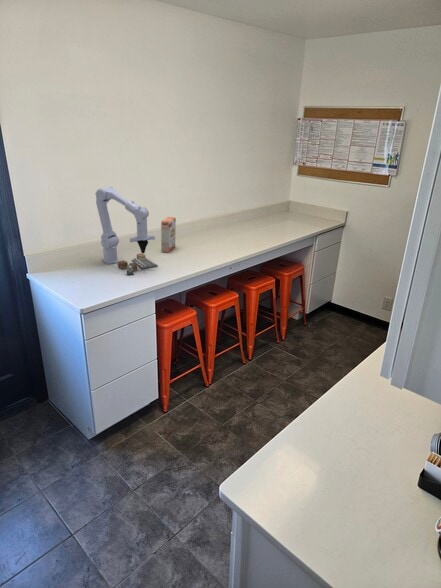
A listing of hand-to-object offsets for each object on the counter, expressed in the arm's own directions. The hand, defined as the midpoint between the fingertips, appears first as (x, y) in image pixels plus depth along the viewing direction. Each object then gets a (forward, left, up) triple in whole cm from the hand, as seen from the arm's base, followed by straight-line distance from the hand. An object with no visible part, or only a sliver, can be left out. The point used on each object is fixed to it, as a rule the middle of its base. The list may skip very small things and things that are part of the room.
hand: (142, 252), depth 231 cm
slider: (-12, +3, -9) cm, 15 cm away
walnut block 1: (-6, -11, -10) cm, 15 cm away
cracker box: (-26, +29, -10) cm, 40 cm away
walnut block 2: (0, -7, -10) cm, 12 cm away
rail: (-7, +3, -10) cm, 12 cm away
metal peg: (+5, -11, -10) cm, 15 cm away
